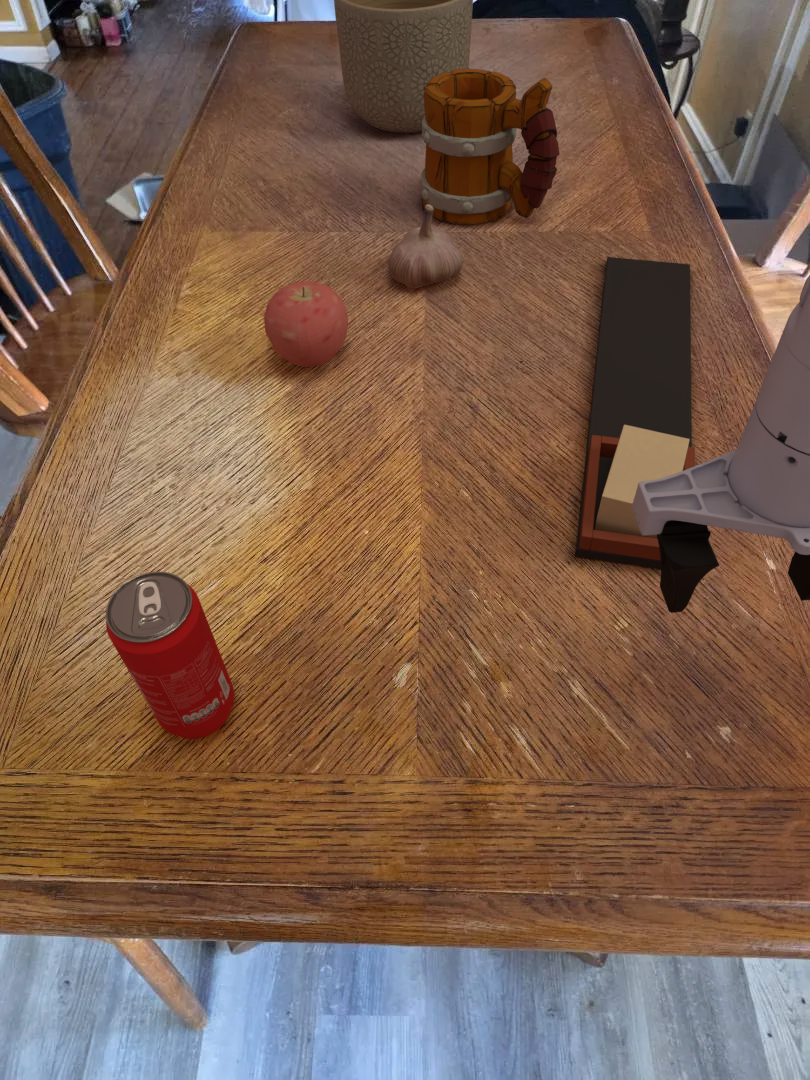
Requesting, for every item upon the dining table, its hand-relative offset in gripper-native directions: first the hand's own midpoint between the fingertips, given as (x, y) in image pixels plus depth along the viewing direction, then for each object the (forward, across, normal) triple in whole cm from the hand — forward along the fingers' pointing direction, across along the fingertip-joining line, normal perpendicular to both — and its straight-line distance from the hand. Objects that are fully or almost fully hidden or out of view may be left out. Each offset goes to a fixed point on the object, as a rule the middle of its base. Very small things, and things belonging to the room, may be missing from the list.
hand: (735, 592), depth 47 cm
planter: (+10, -11, +87) cm, 89 cm away
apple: (+10, -25, +37) cm, 46 cm away
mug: (+10, -4, +62) cm, 63 cm away
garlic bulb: (+10, -13, +49) cm, 52 cm away
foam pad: (+8, 0, +15) cm, 17 cm away
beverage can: (+10, -33, +1) cm, 35 cm away
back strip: (+9, +4, +28) cm, 30 cm away
